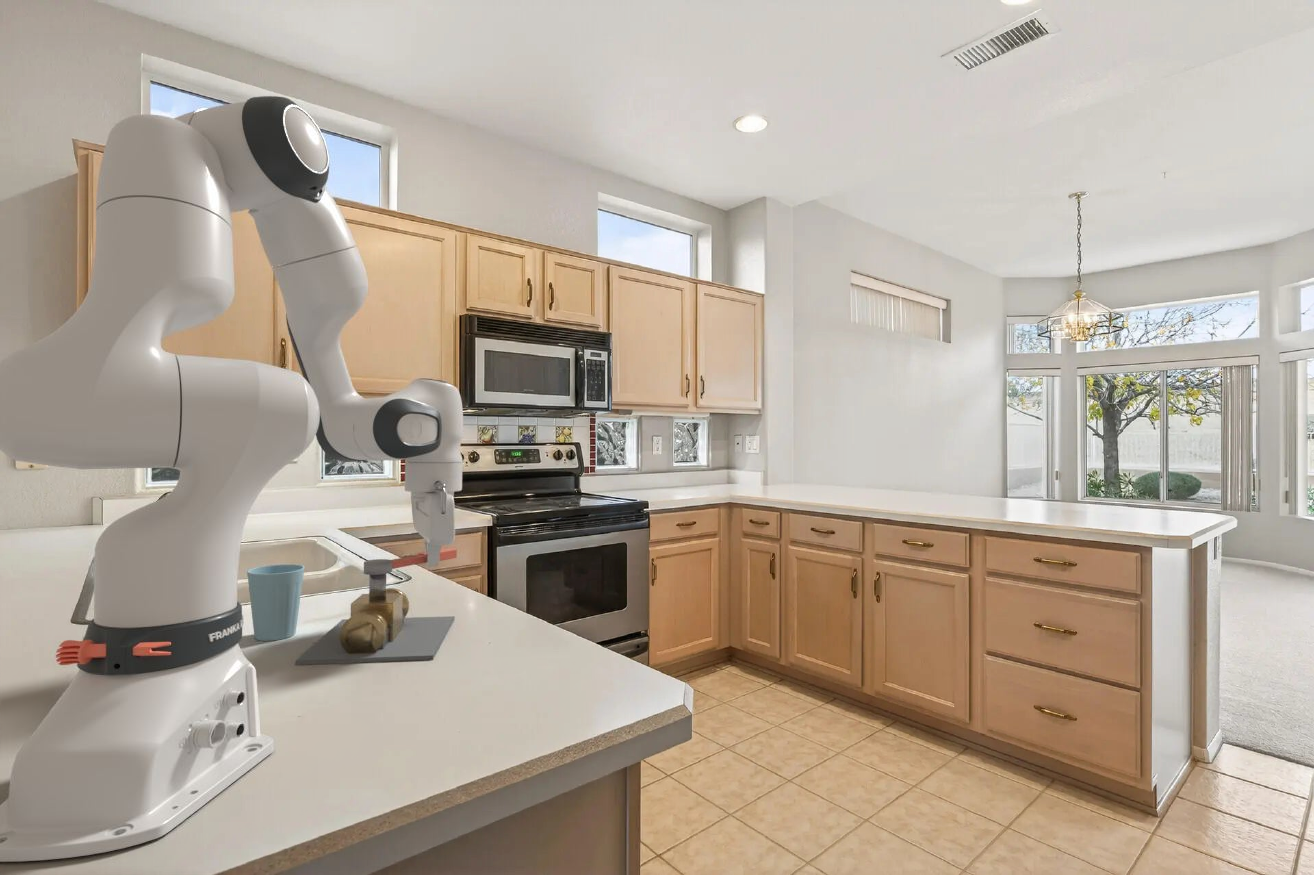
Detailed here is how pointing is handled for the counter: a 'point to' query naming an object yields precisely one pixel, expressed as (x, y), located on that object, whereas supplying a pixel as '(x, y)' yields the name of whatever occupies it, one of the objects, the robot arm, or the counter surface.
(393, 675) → the counter surface
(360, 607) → the valve body
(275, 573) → the cup
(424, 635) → the mat
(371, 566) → the lever
